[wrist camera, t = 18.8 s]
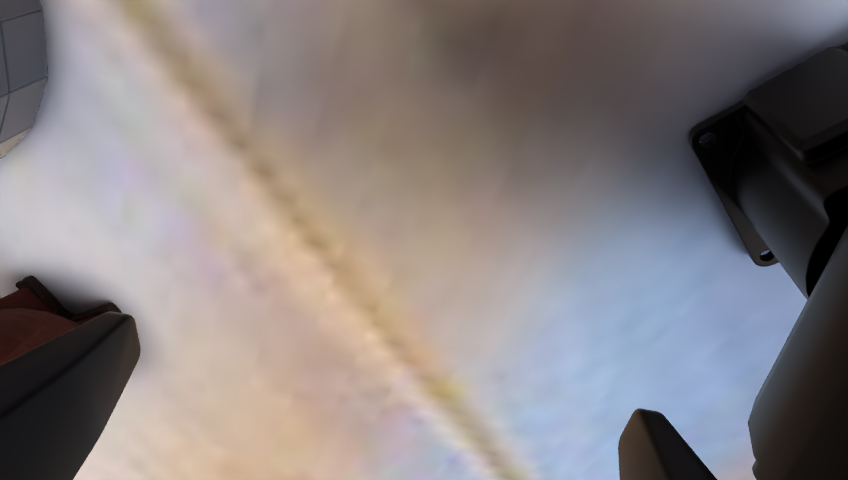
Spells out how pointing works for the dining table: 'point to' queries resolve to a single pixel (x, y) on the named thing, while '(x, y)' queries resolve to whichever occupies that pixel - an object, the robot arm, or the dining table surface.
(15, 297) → the mate gourd
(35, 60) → the large metal bowl
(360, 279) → the dining table surface
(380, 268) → the dining table surface
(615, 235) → the dining table surface
